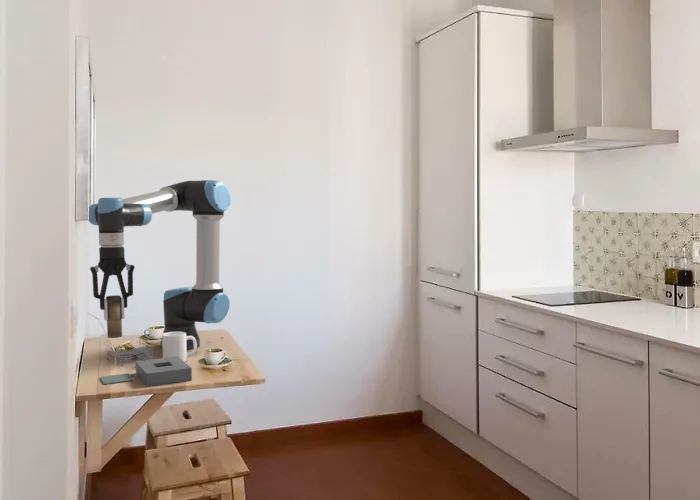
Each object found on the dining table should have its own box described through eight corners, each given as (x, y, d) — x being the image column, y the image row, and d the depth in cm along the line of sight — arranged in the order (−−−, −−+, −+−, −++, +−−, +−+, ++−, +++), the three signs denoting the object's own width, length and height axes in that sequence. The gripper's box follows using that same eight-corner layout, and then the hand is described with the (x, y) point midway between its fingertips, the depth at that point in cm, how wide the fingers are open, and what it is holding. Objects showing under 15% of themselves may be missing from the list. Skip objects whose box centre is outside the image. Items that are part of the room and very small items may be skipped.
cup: (161, 360, 245) (160, 332, 245) (195, 357, 250) (194, 329, 249) (164, 365, 238) (163, 337, 237) (199, 362, 242) (198, 334, 242)
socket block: (136, 373, 228) (135, 361, 228) (178, 367, 235) (177, 356, 234) (147, 386, 212) (146, 373, 212) (191, 380, 219) (191, 367, 218)
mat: (100, 378, 222) (99, 376, 222) (128, 374, 227) (128, 373, 226) (104, 384, 214) (104, 383, 214) (133, 380, 219) (133, 379, 219)
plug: (106, 336, 220) (105, 296, 219) (120, 334, 222) (119, 295, 221) (108, 338, 216) (107, 297, 215) (123, 337, 218) (121, 296, 217)
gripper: (83, 248, 210) (86, 323, 211) (142, 245, 218) (144, 318, 220) (81, 246, 216) (83, 319, 218) (137, 244, 224) (139, 314, 226)
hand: (114, 318), depth 219 cm, fingers closed on plug, 4 cm apart
